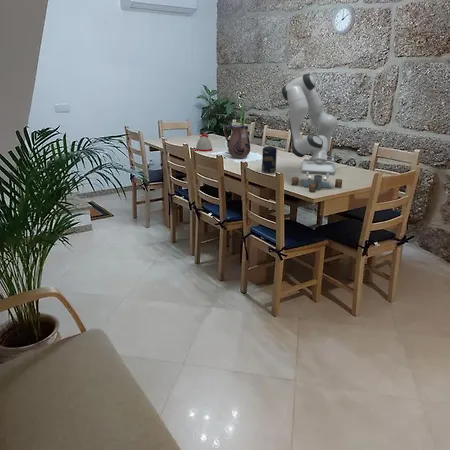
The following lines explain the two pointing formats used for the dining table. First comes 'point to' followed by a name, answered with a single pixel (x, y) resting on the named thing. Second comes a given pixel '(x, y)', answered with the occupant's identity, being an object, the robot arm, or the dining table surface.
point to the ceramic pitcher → (238, 141)
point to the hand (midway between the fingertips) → (317, 179)
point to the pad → (306, 183)
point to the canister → (269, 159)
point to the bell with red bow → (204, 143)
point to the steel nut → (318, 181)
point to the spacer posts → (313, 186)
